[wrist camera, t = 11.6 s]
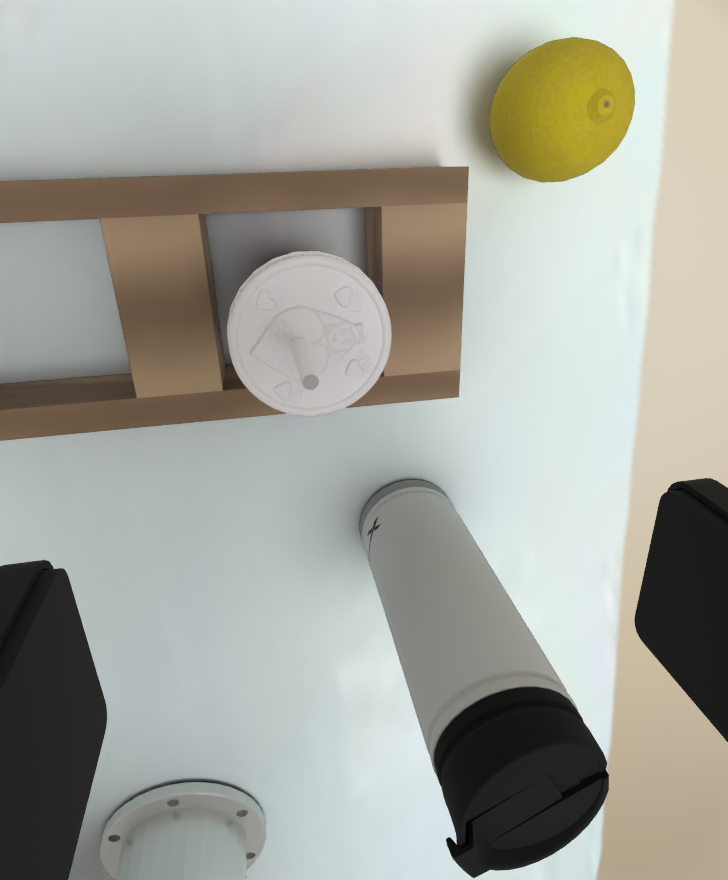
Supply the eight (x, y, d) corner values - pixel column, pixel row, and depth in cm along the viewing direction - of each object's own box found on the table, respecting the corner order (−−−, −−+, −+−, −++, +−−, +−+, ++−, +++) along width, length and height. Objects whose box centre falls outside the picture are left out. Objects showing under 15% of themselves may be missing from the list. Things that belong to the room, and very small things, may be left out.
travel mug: (336, 512, 37) (420, 831, 19) (427, 460, 37) (597, 736, 19) (382, 577, 40) (491, 907, 22) (466, 529, 40) (647, 826, 22)
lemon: (590, 121, 30) (698, 106, 23) (511, 204, 31) (590, 214, 24) (528, 27, 28) (625, -22, 21) (444, 120, 29) (510, 103, 22)
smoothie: (216, 237, 29) (200, 295, 17) (342, 217, 30) (417, 258, 17) (244, 359, 32) (248, 486, 20) (358, 338, 33) (432, 447, 20)
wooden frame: (436, 373, 34) (458, 396, 31) (-87, 419, 30) (-132, 453, 27) (441, 167, 30) (468, 166, 26) (-177, 187, 25) (-247, 190, 22)
